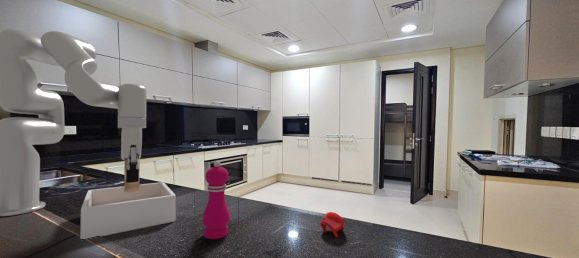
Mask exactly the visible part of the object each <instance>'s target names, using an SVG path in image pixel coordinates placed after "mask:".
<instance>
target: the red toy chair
mask: <svg viewBox="0 0 579 258" xmlns="http://www.w3.org/2000/svg"><path fill="white" fill-rule="evenodd" d="M344 223H345V219H344V218H343V217H341V215H339V214H338V213H337V212H332V211H329V212H326V213H325V214H324V216H323V217H322V219H321V220H320V226H321V229H322V231H323V233H326V232H327V229H326V228H329V229H330V231H331V232H332V233H333V236H334V237H335V238H338V237H339V235H338V233H337V232H339V231H344Z"/></svg>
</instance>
